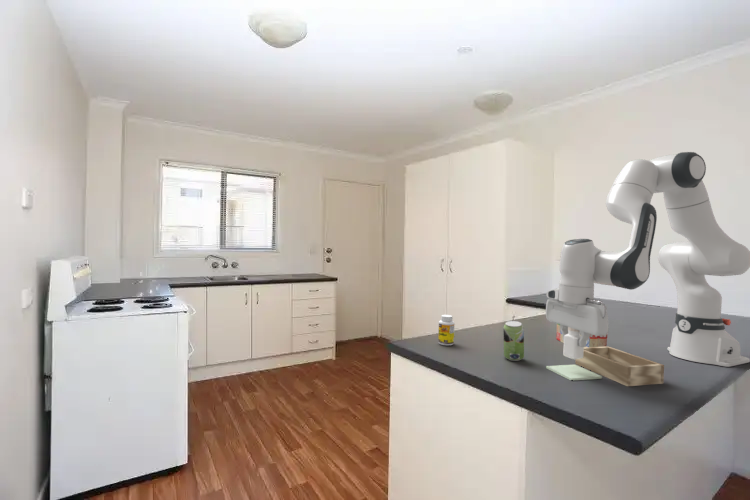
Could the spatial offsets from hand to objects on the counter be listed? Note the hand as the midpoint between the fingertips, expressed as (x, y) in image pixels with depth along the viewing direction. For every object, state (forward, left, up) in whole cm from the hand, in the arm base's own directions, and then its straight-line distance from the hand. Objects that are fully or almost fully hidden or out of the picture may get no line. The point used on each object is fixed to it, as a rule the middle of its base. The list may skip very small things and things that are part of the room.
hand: (573, 343), depth 106 cm
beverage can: (+10, -14, -9) cm, 19 cm away
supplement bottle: (+24, -34, -9) cm, 43 cm away
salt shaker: (0, 0, -4) cm, 4 cm away
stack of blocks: (-23, -23, -9) cm, 34 cm away
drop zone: (0, 0, -8) cm, 8 cm away
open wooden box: (-13, +2, -8) cm, 16 cm away
